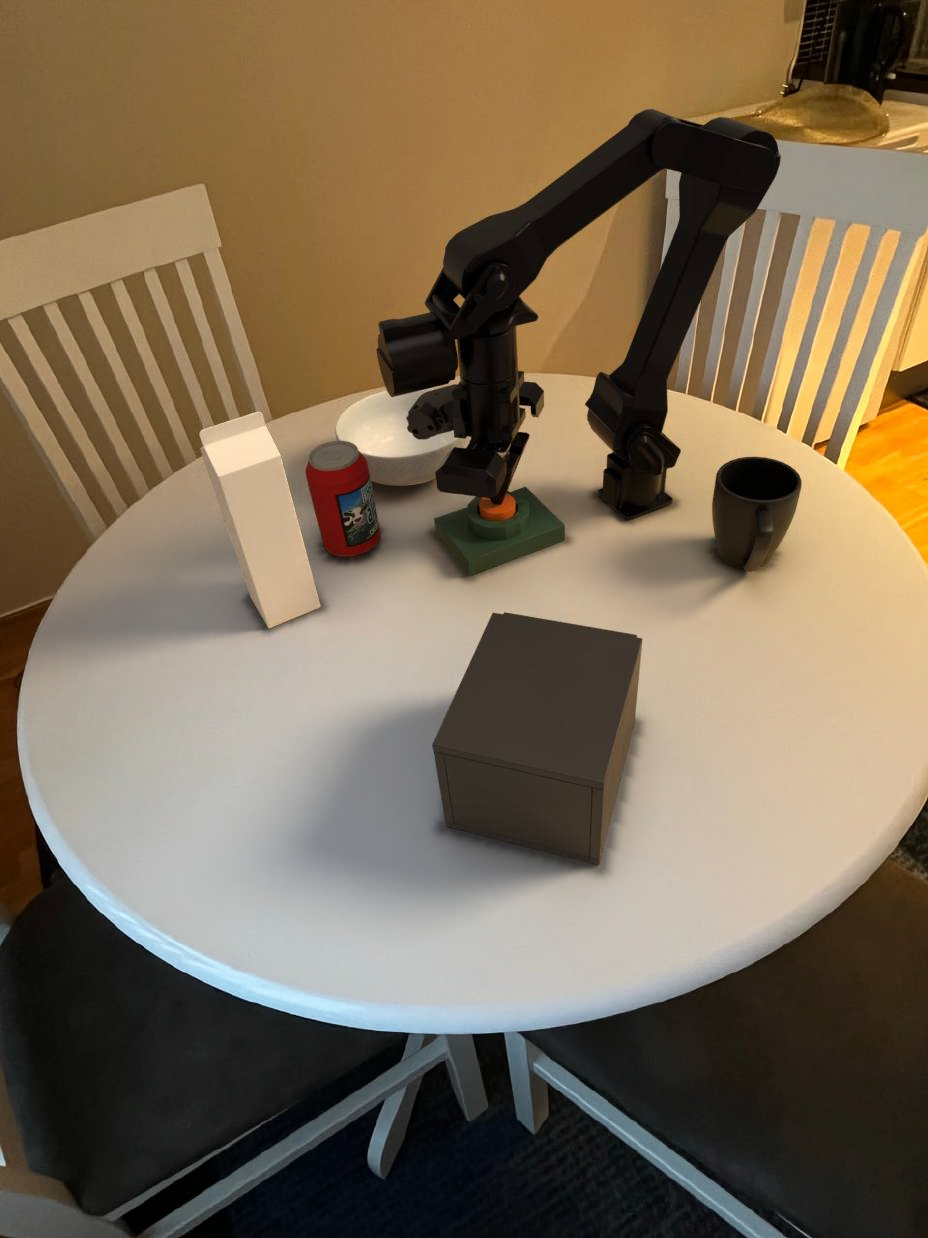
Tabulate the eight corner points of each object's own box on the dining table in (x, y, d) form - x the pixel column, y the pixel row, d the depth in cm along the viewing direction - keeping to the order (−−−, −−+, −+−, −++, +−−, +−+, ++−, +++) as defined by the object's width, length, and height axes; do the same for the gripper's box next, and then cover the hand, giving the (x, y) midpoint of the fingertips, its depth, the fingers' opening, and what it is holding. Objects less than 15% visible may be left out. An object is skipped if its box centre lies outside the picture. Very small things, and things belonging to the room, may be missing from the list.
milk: (321, 608, 89) (274, 424, 73) (267, 630, 87) (208, 446, 72) (300, 577, 93) (252, 397, 77) (249, 597, 91) (188, 417, 76)
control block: (526, 501, 100) (525, 473, 97) (565, 540, 94) (565, 511, 91) (435, 533, 96) (431, 505, 94) (469, 576, 90) (467, 547, 88)
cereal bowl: (354, 517, 100) (343, 467, 95) (337, 448, 112) (327, 400, 107) (490, 489, 102) (486, 439, 97) (459, 424, 114) (454, 376, 109)
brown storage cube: (499, 696, 77) (492, 612, 70) (634, 723, 74) (642, 637, 66) (445, 826, 67) (431, 744, 60) (599, 865, 64) (604, 783, 57)
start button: (505, 501, 95) (504, 488, 94) (522, 518, 92) (521, 505, 91) (474, 512, 94) (472, 499, 93) (490, 530, 91) (489, 517, 90)
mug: (706, 599, 85) (718, 523, 78) (704, 527, 93) (714, 454, 87) (791, 604, 83) (811, 527, 77) (781, 531, 92) (797, 457, 85)
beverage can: (372, 563, 93) (354, 472, 85) (315, 559, 95) (292, 469, 86) (388, 527, 98) (372, 438, 90) (334, 524, 99) (313, 435, 91)
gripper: (444, 324, 90) (457, 450, 100) (375, 410, 77) (398, 543, 88) (544, 331, 87) (546, 460, 97) (489, 421, 74) (499, 558, 85)
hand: (497, 502), depth 92 cm, fingers closed, pressing on start button
